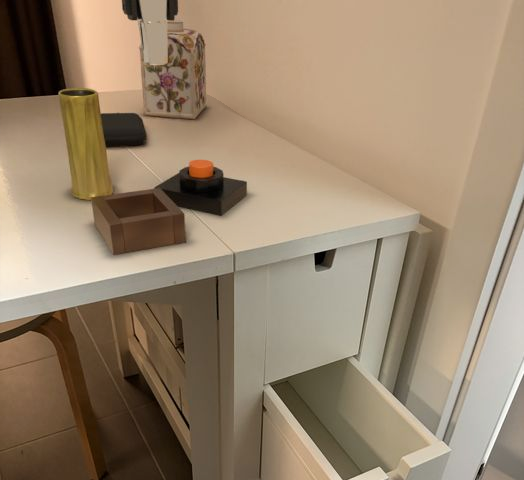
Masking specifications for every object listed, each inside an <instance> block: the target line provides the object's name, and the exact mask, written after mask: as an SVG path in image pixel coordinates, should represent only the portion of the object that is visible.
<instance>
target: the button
mask: <svg viewBox="0 0 524 480" xmlns="http://www.w3.org/2000/svg"><path fill="white" fill-rule="evenodd" d="M188 167H189V175H190V176H193V177H198V178H204V177H210V176H213V167H214V162H213V161H211V160H209V159H193V160H191V161H189V162H188Z"/></svg>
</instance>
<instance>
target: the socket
mask: <svg viewBox="0 0 524 480" xmlns="http://www.w3.org/2000/svg"><path fill="white" fill-rule="evenodd" d="M90 203H91V207H92V208H91V209H92V216H93V223H94V226H95V228H96V229H97V231H98V233H99V234H100V236H101V237H102V239H103V241H104V242H105V243H106V245H107V247H108V248H109V250H110V251H111V253H112V255H114V256H115V255H121V254H126V253H132V252H137V251H144V250H149V249H155V248H160V247H165V246H171V245H178V244H184V243H186V221H185V219H186V217H185V212H184V211H183V210H182V209H181V207H179V206H177V205H176V204H175V203H174V202H173V201H172V200H171V199H170V198H169V197H168V196H167V195H166V194H165V193H164V192H163V191H162V190H161V189H160V188H155V189H154V188H149V189H142V190H141V189H140V190H135V191H127V192H120V193H119V192H118V193H112V194H111V195H104V196H97V197H91V200H90Z"/></svg>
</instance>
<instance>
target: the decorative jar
mask: <svg viewBox="0 0 524 480" xmlns="http://www.w3.org/2000/svg"><path fill="white" fill-rule="evenodd" d="M167 37H168V63H167V64H165V65H147V64H145V63H144V57H143V51H142V45H141V44H140V45H139V47H138V49H139V59H140V60H139V61H140V76H141V88H142V100H143V101H142V103H143V110H144V115H145V116H149V117H159V118H160V117H161V118H171V119H173V118H174V119H183V120H196V119H197V117H198V116H199V115H200V113H202V111H203V110H204V109H205V108H206V106H207V78H206V77H207V74H206V73H207V68H206V65H207V64H206V43H205V40H204V38H203V35H202V33H201V32H199V31H197V30H194V29H190V28H184V21H183V20H182V19H177V18H175V19H174V20H173V21H169V20H167Z"/></svg>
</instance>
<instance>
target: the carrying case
mask: <svg viewBox="0 0 524 480" xmlns="http://www.w3.org/2000/svg"><path fill="white" fill-rule="evenodd" d="M101 120H102V127H103V134H104V140H105V146H106V147H123V146H124V147H125V146H127V147H128V146H141V145H143V144H144V143H145V141H146V140H147V136H148V135H147V131H146V128H145V124H144V121H143V118H142V117H141V116H140V115H139V114H138V113H136V112H102V113H101Z"/></svg>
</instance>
